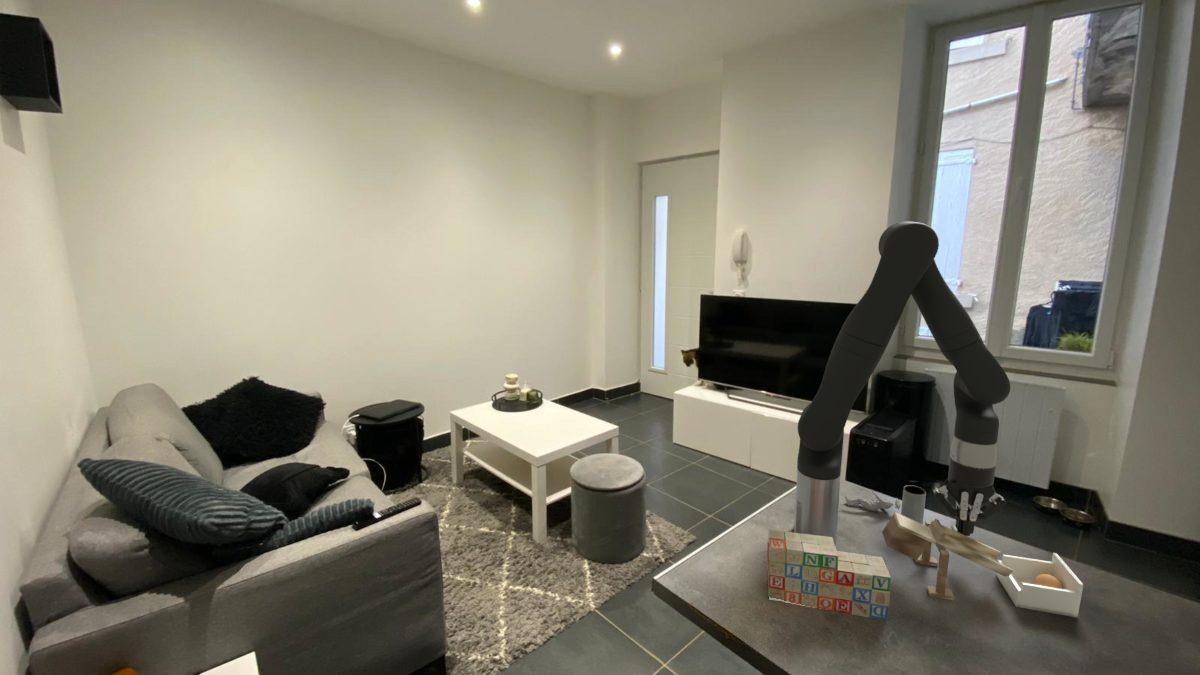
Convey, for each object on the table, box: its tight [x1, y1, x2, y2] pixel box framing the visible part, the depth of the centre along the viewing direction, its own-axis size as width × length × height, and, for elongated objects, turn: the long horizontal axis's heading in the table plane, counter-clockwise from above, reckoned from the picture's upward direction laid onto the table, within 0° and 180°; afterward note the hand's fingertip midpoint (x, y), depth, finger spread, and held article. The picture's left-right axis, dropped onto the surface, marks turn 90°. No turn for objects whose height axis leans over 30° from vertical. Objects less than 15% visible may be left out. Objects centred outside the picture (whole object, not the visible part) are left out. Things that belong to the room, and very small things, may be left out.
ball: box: [1035, 574, 1063, 589], centre depth 94 cm, size 4×4×4 cm
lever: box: [882, 511, 1013, 577], centre depth 101 cm, size 20×13×8 cm, turn 72°
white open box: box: [995, 552, 1084, 618], centre depth 94 cm, size 9×9×7 cm
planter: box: [900, 484, 927, 525], centre depth 116 cm, size 4×4×10 cm
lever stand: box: [914, 520, 955, 601], centre depth 100 cm, size 4×12×10 cm, turn 160°
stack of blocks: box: [766, 529, 892, 621], centre depth 95 cm, size 21×6×12 cm, turn 73°
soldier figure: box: [844, 490, 902, 512], centre depth 125 cm, size 8×5×12 cm
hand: (964, 533), depth 103 cm, fingers closed
